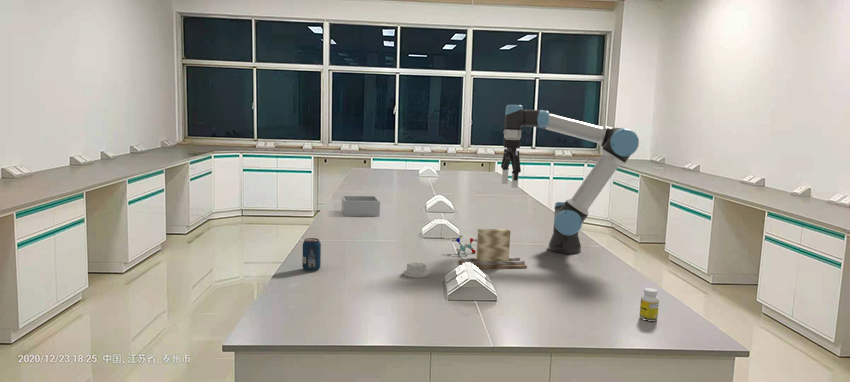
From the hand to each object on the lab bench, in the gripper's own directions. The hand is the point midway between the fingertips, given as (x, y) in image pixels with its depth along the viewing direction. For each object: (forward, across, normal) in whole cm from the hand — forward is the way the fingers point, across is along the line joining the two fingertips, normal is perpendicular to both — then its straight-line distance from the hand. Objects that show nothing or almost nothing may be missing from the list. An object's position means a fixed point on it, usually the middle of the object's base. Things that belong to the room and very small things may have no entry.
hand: (509, 185), depth 280 cm
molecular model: (+31, +3, -21) cm, 38 cm away
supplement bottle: (+31, +94, +16) cm, 100 cm away
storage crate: (+31, -102, -58) cm, 121 cm away
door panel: (+30, +24, -14) cm, 41 cm away
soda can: (+31, +28, -89) cm, 98 cm away
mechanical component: (+31, +37, -49) cm, 69 cm away
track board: (+31, +24, -14) cm, 41 cm away
